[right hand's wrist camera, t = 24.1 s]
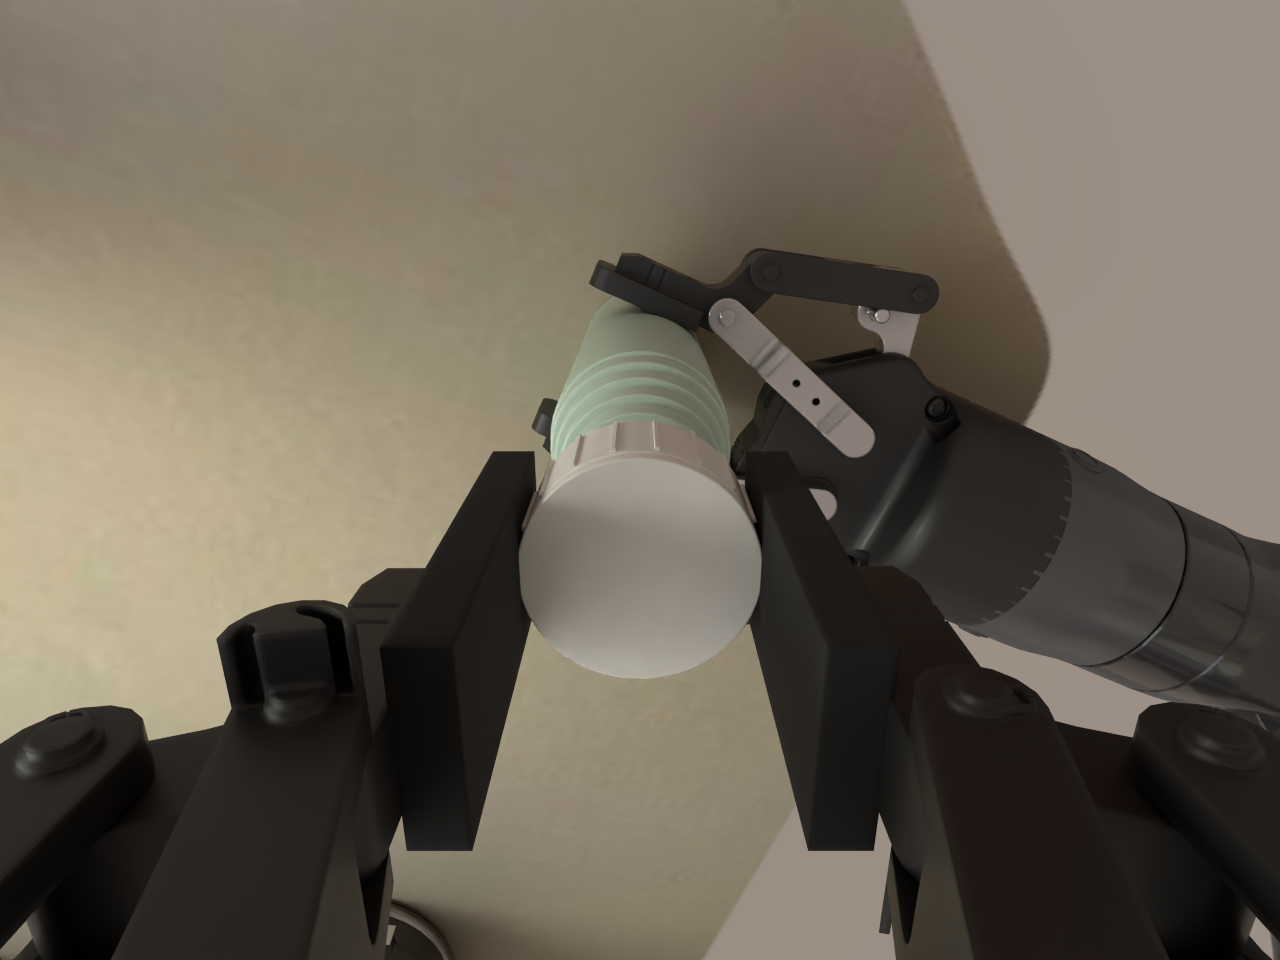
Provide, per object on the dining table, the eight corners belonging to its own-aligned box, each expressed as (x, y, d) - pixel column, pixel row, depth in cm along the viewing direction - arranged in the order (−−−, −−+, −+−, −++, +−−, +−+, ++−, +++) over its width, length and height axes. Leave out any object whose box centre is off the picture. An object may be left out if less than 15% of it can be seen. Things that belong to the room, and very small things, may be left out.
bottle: (620, 267, 31) (589, 374, 12) (715, 324, 32) (825, 508, 13) (567, 363, 32) (463, 594, 13) (659, 415, 33) (684, 703, 14)
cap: (523, 604, 15) (505, 668, 13) (542, 401, 14) (525, 438, 11) (726, 627, 15) (740, 695, 13) (766, 431, 14) (788, 472, 12)
